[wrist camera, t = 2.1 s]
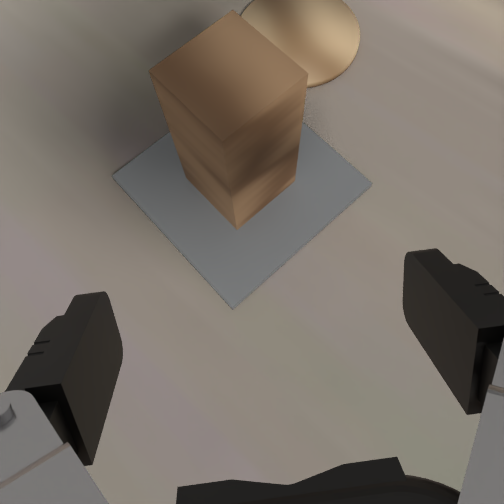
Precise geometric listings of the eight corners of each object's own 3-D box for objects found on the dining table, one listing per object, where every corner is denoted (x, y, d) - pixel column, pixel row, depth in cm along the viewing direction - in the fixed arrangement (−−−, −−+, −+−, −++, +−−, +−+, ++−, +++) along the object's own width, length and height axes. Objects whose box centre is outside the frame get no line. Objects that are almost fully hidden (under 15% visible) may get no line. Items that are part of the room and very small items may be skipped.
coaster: (298, -27, 36) (299, -33, 35) (384, 39, 33) (386, 34, 33) (211, 36, 34) (211, 31, 33) (295, 110, 32) (296, 106, 31)
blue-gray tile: (247, 76, 33) (246, 72, 32) (371, 186, 30) (372, 183, 29) (113, 178, 30) (111, 175, 30) (232, 309, 27) (232, 308, 27)
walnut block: (242, 131, 31) (231, 9, 21) (294, 181, 29) (308, 73, 20) (185, 177, 30) (147, 69, 20) (237, 230, 28) (222, 141, 19)
